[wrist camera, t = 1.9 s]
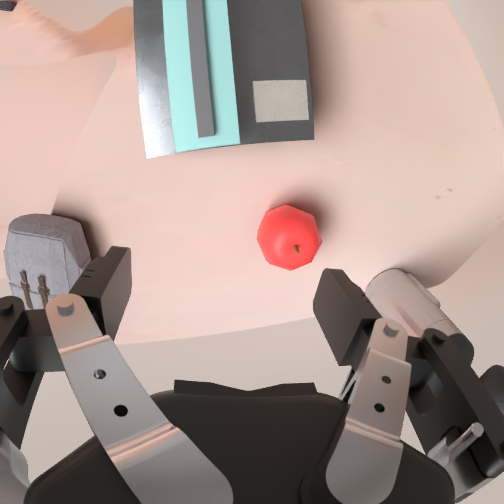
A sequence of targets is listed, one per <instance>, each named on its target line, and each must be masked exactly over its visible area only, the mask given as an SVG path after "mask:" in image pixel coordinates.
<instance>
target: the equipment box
mask: <svg viewBox="0 0 504 504" xmlns="http://www.w3.org/2000/svg"><path fill="white" fill-rule="evenodd" d="M227 10H228V21H229V31H230V42H231V53H232V63H233V74H234V84H235V95H236V105H237V116H238V126H239V137H240V144H234V145H243V144H254V143H266V142H279V141H296V140H314V124H313V108H312V94H311V82H310V70H309V60H308V50H307V41H306V33H305V25H304V17H303V10H302V3H301V0H227ZM134 39H135V57H136V71H137V82H138V93H139V102H140V111H141V119H142V127H143V135H144V142H145V149H146V155H147V158H153V157H158V156H164V155H169V154H175V153H181V152H188V151H195V150H202V149H209V148H217V147H225V146H234V145H225V146H217V147H209V148H202V149H195V150H188V151H181V152H176V148H175V141H174V133H173V125H172V116H171V108H170V98H169V89H168V78H167V67H166V54H165V40H164V24H163V1H162V0H134Z"/></svg>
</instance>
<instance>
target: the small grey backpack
mask: <svg viewBox="0 0 504 504" xmlns="http://www.w3.org/2000/svg"><path fill="white" fill-rule="evenodd" d="M4 258H5V265H6V272H7V276H8V277H9V280H10V282H9V285H10V287H11V291H12V294H13V296H16V297H19V298H21V299H22V300H23V302H24V305H25V308H26V310H31V309H46V305H47V303H48V302H49V301H50V300H51V299H52V298H54V297H55V296H58V295H61V294H68V293H69V291H70V290H71V288H72V287H73V285H74V284H75V282H76V281H77V279H78V278H79V276H81V274H82V272H83V271H84V270H85V268H86V267H87V265H88V264H89V262H91V258H90V251H89V248H88V245H87V242H86V239H85V236H84V233H83V230H82V226H81V223H79V222H77V221H75V220H72V219H70V218H65V217H60V216H56V215H46V214H30V215H24V216H20V217H18V218H16V219H14V220H13V221H12V222H11V223H10V224H9V229H8V235H7V241H6V247H5V250H4Z"/></svg>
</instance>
